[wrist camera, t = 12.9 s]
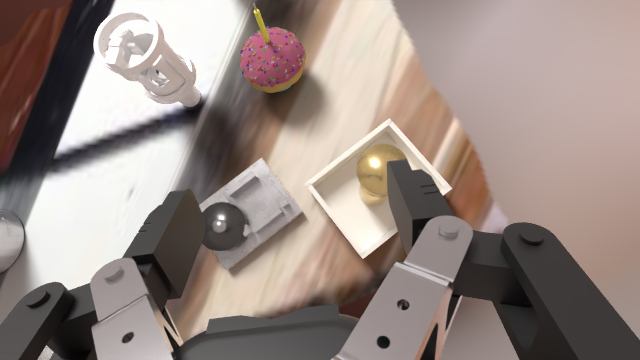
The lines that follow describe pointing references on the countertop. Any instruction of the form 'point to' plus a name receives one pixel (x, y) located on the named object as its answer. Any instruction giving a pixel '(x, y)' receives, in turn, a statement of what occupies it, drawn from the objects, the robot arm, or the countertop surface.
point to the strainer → (147, 59)
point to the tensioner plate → (246, 213)
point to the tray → (343, 190)
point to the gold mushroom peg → (375, 172)
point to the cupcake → (272, 58)
